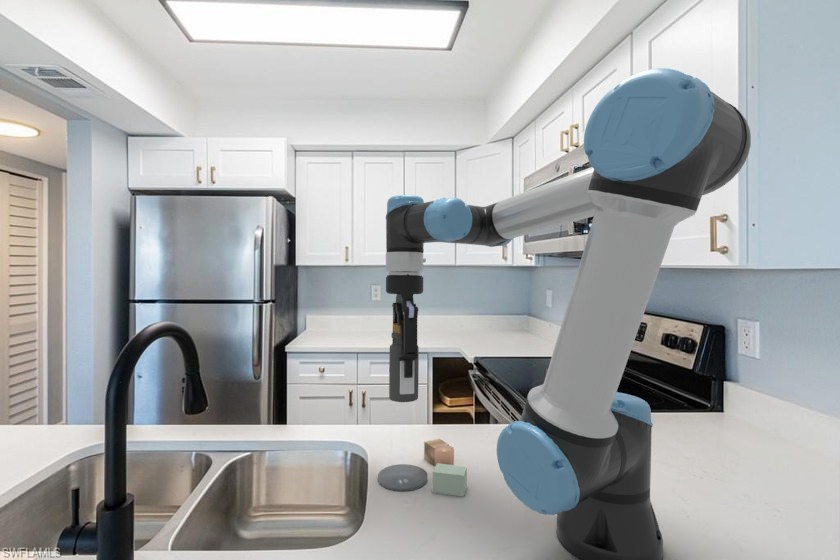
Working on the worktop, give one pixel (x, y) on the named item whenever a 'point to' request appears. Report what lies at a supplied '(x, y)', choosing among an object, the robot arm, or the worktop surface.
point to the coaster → (402, 477)
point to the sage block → (449, 479)
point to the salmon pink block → (444, 455)
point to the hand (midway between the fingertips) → (403, 389)
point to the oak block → (432, 450)
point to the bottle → (395, 370)
